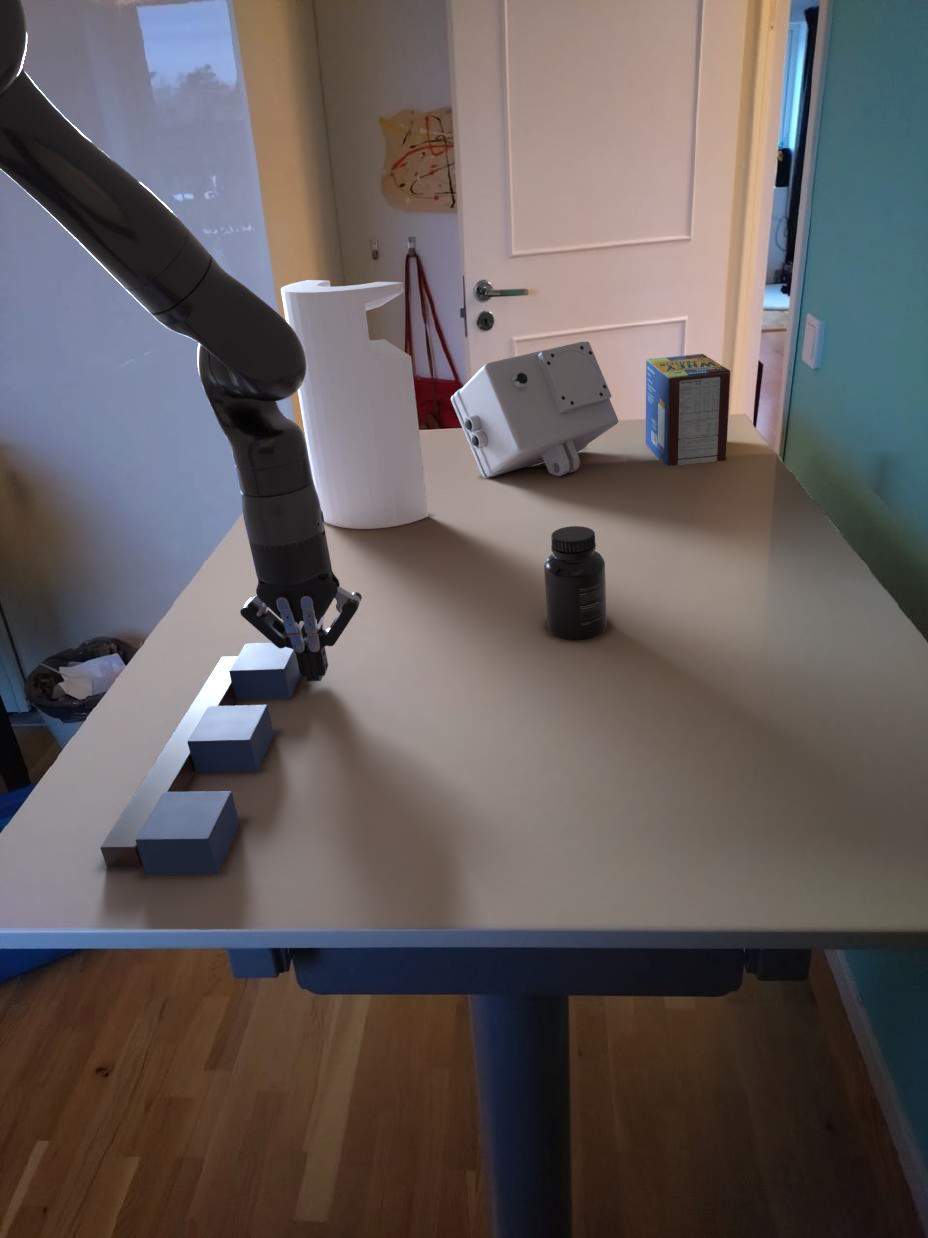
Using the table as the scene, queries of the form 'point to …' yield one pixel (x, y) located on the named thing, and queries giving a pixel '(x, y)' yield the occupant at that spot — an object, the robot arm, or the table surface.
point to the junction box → (535, 410)
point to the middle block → (231, 739)
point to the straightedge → (166, 771)
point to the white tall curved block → (357, 407)
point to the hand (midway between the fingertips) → (316, 677)
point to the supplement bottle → (575, 585)
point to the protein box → (687, 409)
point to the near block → (188, 832)
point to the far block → (264, 672)
